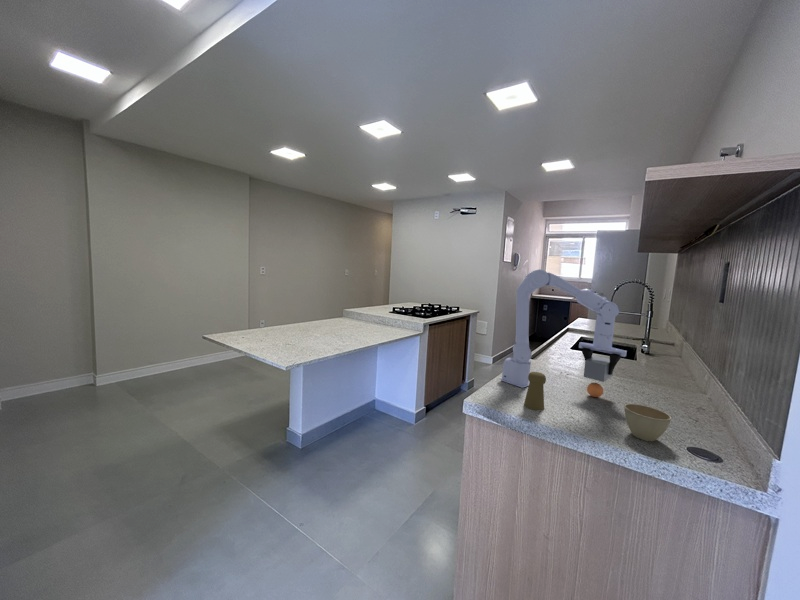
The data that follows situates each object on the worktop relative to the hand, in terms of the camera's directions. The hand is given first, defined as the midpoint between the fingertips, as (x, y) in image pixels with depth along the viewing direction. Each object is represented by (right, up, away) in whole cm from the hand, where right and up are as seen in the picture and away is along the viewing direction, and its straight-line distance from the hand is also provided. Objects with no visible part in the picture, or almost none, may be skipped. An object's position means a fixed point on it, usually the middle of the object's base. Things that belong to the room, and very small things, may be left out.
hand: (598, 371), depth 116 cm
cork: (-29, -8, -13) cm, 33 cm away
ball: (-2, -6, -1) cm, 7 cm away
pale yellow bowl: (-6, -11, -29) cm, 32 cm away
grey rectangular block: (0, -2, 0) cm, 2 cm away
